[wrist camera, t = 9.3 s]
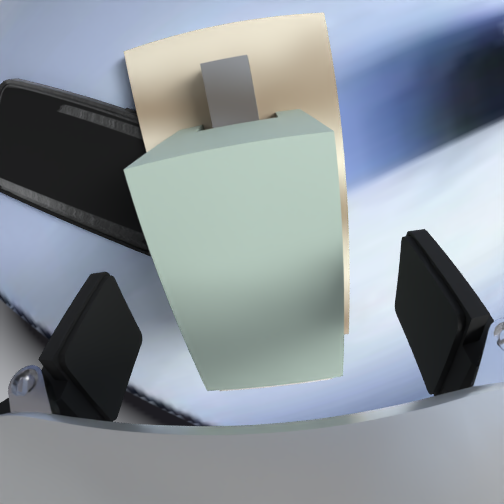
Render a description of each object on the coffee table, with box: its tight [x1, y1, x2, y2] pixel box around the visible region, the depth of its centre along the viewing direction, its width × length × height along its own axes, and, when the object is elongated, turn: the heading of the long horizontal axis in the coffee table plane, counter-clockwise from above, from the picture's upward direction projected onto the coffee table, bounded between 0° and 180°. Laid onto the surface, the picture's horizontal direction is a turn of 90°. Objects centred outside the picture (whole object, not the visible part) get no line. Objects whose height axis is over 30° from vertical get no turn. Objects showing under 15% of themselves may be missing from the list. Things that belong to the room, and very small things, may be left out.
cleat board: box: [124, 13, 350, 334], centre depth 17 cm, size 20×10×3 cm, turn 10°
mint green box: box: [124, 109, 344, 391], centre depth 14 cm, size 11×6×8 cm, turn 10°
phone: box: [0, 79, 151, 256], centre depth 17 cm, size 8×1×15 cm
